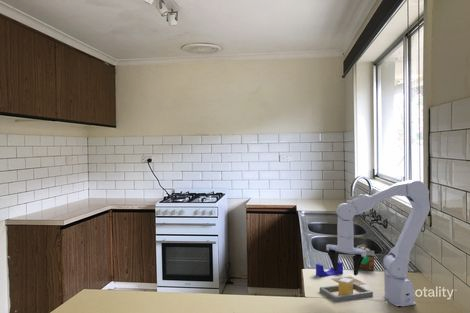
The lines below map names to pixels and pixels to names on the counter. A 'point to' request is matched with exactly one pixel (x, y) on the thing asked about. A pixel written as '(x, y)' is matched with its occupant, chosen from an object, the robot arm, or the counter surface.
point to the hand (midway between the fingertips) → (345, 272)
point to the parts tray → (363, 294)
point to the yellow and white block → (345, 286)
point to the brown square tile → (349, 278)
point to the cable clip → (330, 272)
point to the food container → (367, 258)
